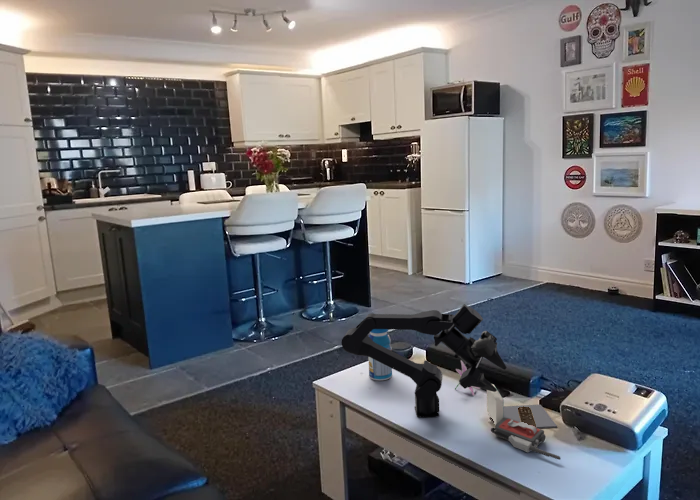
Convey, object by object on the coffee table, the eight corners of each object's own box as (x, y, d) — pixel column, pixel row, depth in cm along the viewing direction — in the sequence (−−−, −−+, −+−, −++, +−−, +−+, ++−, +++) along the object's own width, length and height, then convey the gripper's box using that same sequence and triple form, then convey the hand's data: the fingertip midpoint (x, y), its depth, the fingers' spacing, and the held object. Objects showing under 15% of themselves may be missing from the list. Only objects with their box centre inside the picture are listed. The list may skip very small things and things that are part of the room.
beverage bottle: (383, 383, 183) (381, 327, 180) (363, 378, 189) (361, 323, 185) (397, 374, 190) (395, 320, 186) (378, 369, 195) (375, 317, 192)
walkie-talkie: (486, 438, 146) (558, 465, 132) (485, 423, 145) (558, 449, 131) (502, 424, 152) (573, 449, 138) (502, 410, 151) (573, 433, 137)
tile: (496, 427, 151) (496, 399, 149) (486, 411, 161) (486, 384, 159) (503, 427, 151) (503, 399, 149) (494, 410, 161) (494, 384, 159)
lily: (458, 403, 168) (472, 381, 166) (437, 380, 176) (450, 359, 173) (479, 402, 175) (493, 381, 173) (457, 380, 183) (470, 360, 180)
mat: (506, 429, 149) (506, 428, 149) (494, 408, 162) (494, 406, 162) (557, 427, 149) (557, 425, 149) (540, 405, 162) (540, 404, 162)
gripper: (463, 354, 143) (509, 393, 143) (486, 311, 156) (528, 346, 155) (441, 370, 151) (484, 406, 151) (464, 328, 164) (503, 362, 163)
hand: (500, 379), depth 155 cm, fingers open, 9 cm apart
